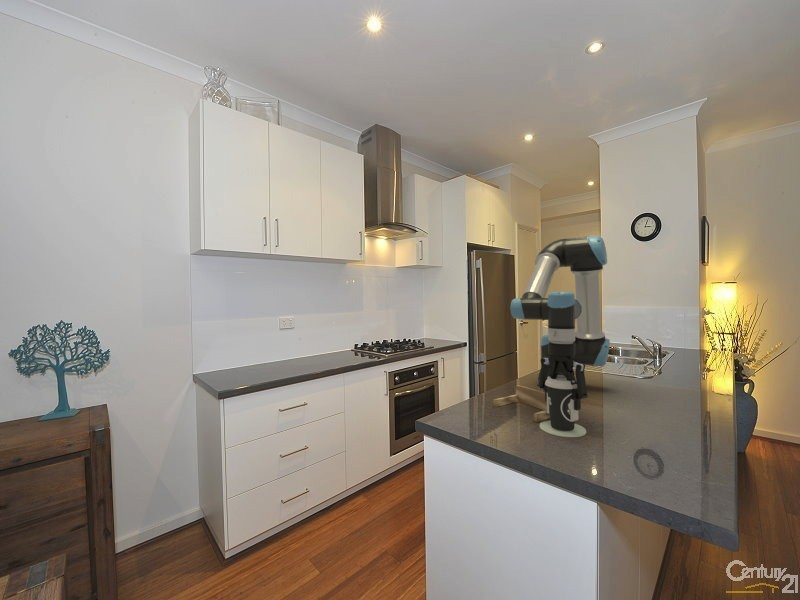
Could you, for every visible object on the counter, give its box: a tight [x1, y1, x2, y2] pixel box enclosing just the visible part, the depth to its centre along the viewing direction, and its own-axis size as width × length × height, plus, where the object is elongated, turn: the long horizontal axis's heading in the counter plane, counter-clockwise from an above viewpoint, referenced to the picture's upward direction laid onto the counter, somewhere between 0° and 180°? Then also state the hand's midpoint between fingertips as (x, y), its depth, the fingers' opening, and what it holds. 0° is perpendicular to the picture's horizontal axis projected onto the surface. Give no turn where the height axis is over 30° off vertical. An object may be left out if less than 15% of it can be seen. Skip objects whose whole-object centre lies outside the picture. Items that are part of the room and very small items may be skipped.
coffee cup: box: [545, 375, 577, 431], centre depth 107 cm, size 10×10×15 cm
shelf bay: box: [492, 384, 550, 423], centre depth 124 cm, size 14×19×6 cm
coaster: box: [539, 419, 587, 438], centre depth 107 cm, size 13×13×1 cm
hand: (562, 416), depth 107 cm, fingers closed on coffee cup, 7 cm apart
